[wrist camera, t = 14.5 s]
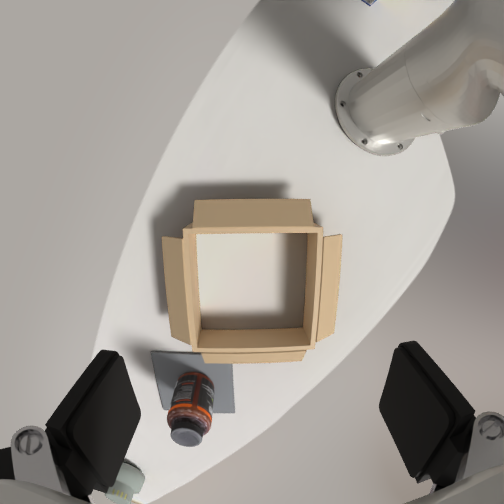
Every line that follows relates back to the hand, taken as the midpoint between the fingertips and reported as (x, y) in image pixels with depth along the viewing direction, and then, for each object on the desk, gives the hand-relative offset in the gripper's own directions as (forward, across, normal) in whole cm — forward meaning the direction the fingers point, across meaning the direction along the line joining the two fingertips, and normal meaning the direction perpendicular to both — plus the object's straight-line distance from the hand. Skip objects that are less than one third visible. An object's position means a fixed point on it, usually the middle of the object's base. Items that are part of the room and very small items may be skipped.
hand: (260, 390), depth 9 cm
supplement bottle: (+27, +10, +23) cm, 36 cm away
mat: (+27, +10, +23) cm, 37 cm away
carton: (+28, 0, +6) cm, 28 cm away
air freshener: (+26, +30, +53) cm, 66 cm away
